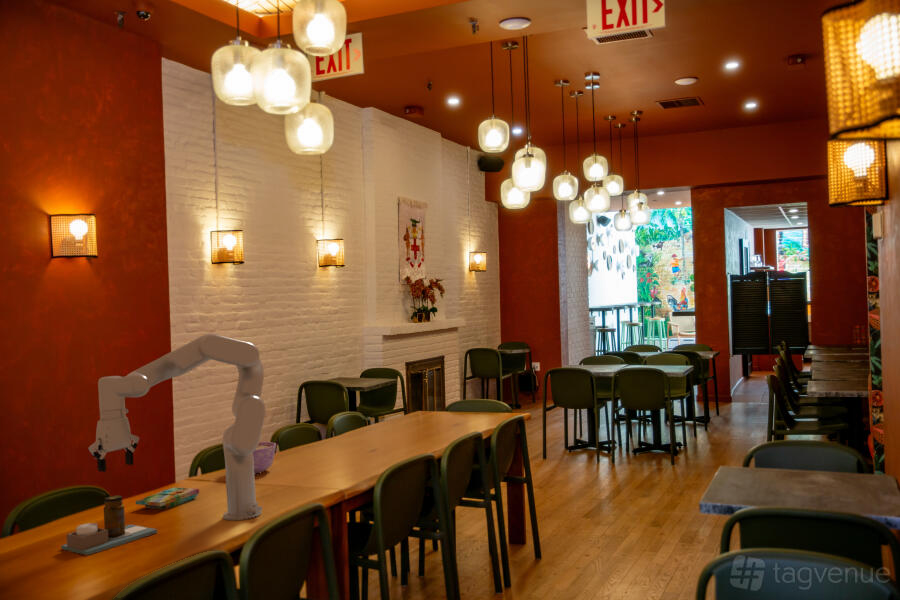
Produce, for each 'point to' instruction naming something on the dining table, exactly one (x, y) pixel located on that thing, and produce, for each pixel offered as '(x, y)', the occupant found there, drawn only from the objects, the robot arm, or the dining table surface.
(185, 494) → the puzzle game
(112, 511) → the condiment
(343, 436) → the dining table surface
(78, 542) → the board
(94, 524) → the dome
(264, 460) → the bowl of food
